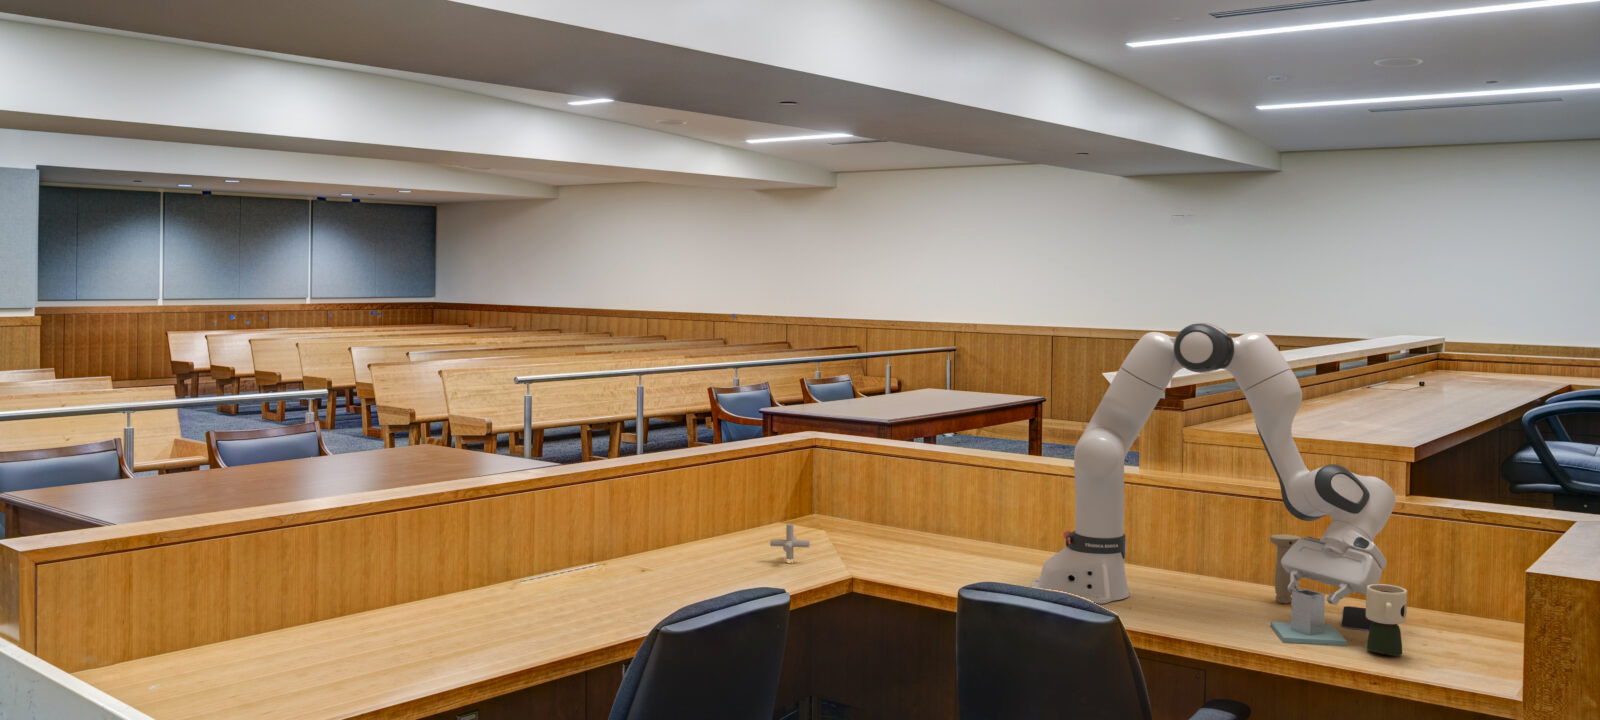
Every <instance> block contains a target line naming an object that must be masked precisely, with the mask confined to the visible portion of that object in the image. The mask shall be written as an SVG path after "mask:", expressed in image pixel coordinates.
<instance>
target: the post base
mask: <svg viewBox="0 0 1600 720" xmlns="http://www.w3.org/2000/svg"><path fill="white" fill-rule="evenodd" d="M1270 627H1271V628H1272V630H1273V631H1274V633H1276V635H1277V636H1278V637H1279V639H1280V640H1281V642H1282V643H1285V644H1287V643H1288V644H1308V645H1321V646H1322V645H1324V646H1325V645H1326V644H1328V645H1326V646H1340V645H1341V647H1342V646H1343V647H1344V646H1345V647H1347V640H1346V638H1344V636H1342V634H1341V633H1340V632H1339V631H1338V630H1337V629H1336V628H1335V627H1334V626H1333V625H1332V624H1330V623H1329V624H1327V623H1324V632H1323V633H1319V634H1314V635H1307V634H1304V633H1301V632H1298V631H1295V630H1292V629H1291V621H1290V622H1287V621H1286V622H1285V621H1270Z"/></svg>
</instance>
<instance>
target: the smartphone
mask: <svg viewBox="0 0 1600 720" xmlns="http://www.w3.org/2000/svg"><path fill="white" fill-rule="evenodd" d="M1341 614H1342V616H1341V624H1340V626H1341V628H1343V629H1347V628H1349V629H1350V630H1355V629H1356V631H1365V632H1369V630H1370V625H1371V623H1372V622H1374V621H1372V620H1369V619H1367V618H1366V607H1356V606H1349V605H1347V606H1346V605H1345V606H1343V608H1342V613H1341ZM1349 629H1348V630H1349Z"/></svg>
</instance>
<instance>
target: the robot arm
mask: <svg viewBox="0 0 1600 720" xmlns="http://www.w3.org/2000/svg"><path fill="white" fill-rule="evenodd" d="M1182 369H1186V370H1187V371H1191V372H1193V373H1198V374H1208V373H1212V372H1214V371H1215V372H1216V371H1218V370H1225V371H1227V372H1228V373H1229V374H1231V375H1232V377H1233V378H1234V380H1235V381H1236V382H1237V384H1238V386H1239V388H1240V390H1241V391H1242V394H1243V395H1244V398H1245V399H1246V401H1247V403H1248V405H1249V407H1250V410H1251V413H1252V414H1253V417H1254V420H1255V422H1254V423H1255V426H1256V429H1257V433H1258V435H1259V438H1260V440H1261V444H1263V447H1264V450H1265V452H1266V454H1267V457H1268V458H1269V461H1270V463H1271V465H1272V467H1273V470H1274V471H1275V474H1276V477H1277V479H1278V481H1279V487H1280V492H1281V499H1282V502H1283V504H1284V507H1285V508H1286V510H1287V511H1288V512H1289V513H1290V514H1291V515H1292V516H1294V517H1295V518H1297V519H1298V520H1301V521H1305V522H1313V521H1317V520H1319V519H1322V517H1325V516H1326V515H1328V516H1329V517H1331V520H1332V521H1331V523H1330V524H1329V525H1328V526H1327V528H1326V530H1325V531H1324V533H1323V534H1322V536H1321V537H1320V538H1315V537H1313V536H1305V537H1301V539H1298V540H1297V542H1296V543H1295V544H1294V545H1293V546H1292V547H1291V548H1290V549H1289V550H1288V551H1287V552H1286V554H1285V555H1284V556H1283V558H1282V559H1281V564H1282V566H1283V568H1284V569H1285V570H1286V572H1287V573H1289V574H1290V581H1291V582H1290V584H1289V585H1288V587H1287V589H1288V590H1289V592H1292V591H1296V590H1301V587H1300V586H1299V581H1302V579H1303V578H1304V579H1308V580H1312V581H1315V582H1319V583H1323V584H1325V585H1330V586H1333V587H1336V588H1339V589H1338V590H1336V591H1334V593H1333V592H1329V594H1328V596H1326V601H1327V602H1328V604H1330V605H1333V606H1337V605H1338V603H1340V601H1341V600H1343V599H1344V598H1346V597H1348V596H1349V595H1351V594H1352V592H1355V593H1359V594H1362V595H1366V592H1367V586H1368V585H1371V584H1379V582H1380V579H1381V578H1382V574H1383V572H1382V570H1384V569H1385V567H1386V566H1387V565H1388V561H1387V559H1386V557H1385V556H1384V554H1383V552H1381V550H1380V549H1379V547H1378V546H1377V545H1376V544H1375V543H1374V540H1375V538H1376V536H1377V535H1378V534H1379V533H1380V532H1381V531H1382V530H1383V529H1384V527H1385V526H1386V524H1387V522H1388V520H1389V518H1390V516H1391V515H1392V513H1393V510H1394V508H1395V505H1396V494H1395V492H1394V490H1393V489H1392V487H1391V486H1390V485H1389V484H1388V483H1386V482H1385V481H1384V480H1383V479H1381V478H1379V477H1377V476H1373V475H1361V474H1356V473H1354V472H1352V471H1350V470H1349V469H1348V468H1347V467H1344V466H1342V465H1339V464H1335V463H1334V464H1332V463H1331V464H1326V465H1323V466H1320V467H1318V468H1316V469H1313V470H1311V471H1310V470H1309V469H1308V468H1307V466H1306V464H1305V462H1304V460H1303V457H1302V456H1301V454H1300V451H1299V449H1298V446H1297V445H1296V442H1295V440H1294V438H1293V433H1292V427H1293V422H1294V421H1295V420H1294V419H1295V417H1296V415H1297V413H1298V411H1299V410H1300V408H1301V406H1302V402H1303V391H1302V388H1301V385H1300V383H1299V380H1298V379H1297V377H1296V375H1295V373H1294V372H1293V370H1292V368H1291V366H1290V365H1289V363H1288V361H1287V360H1286V358H1285V357H1284V355H1283V353H1281V351H1280V350H1279V349H1278V348H1277V346H1276V344H1274V343H1273V341H1272V340H1271V339H1270V338H1269V337H1268V336H1267V335H1266V334H1264V333H1261V332H1259V331H1258V332H1257V331H1256V332H1255V331H1254V332H1253V331H1252V332H1247V333H1244V334H1241V335H1240V336H1237V337H1232V336H1230V335H1229V334H1228V332H1226V331H1225V329H1222V328H1221V327H1219V326H1218V325H1215V324H1213V323H1209V322H1201V323H1193V324H1189V325H1187V326H1185V327H1184V328H1182V329H1181V330H1179V332H1178V334H1177V335H1176V336H1170V335H1167V334H1166V333H1163V332H1158V331H1150V332H1147V333H1145V334H1144V335H1142V337H1141V338H1139V339H1138V341H1137V342H1136V343H1135V344H1134V346H1133V347H1132V349H1131V350H1130V351H1129V353H1128V354H1127V355H1126V357H1125V359H1124V361H1123V362H1122V364H1121V366H1119V369H1118V371H1117V372H1116V374H1115V376H1114V377H1113V379H1112V381H1111V383H1110V385H1109V386H1108V388H1107V390H1106V391H1105V393H1104V395H1103V397H1102V399H1101V401H1100V403H1099V404H1098V406H1097V408H1096V410H1095V412H1094V413H1093V415H1092V416H1091V419H1090V421H1089V423H1088V424H1087V426H1086V427H1085V428H1084V429H1085V430H1083V433H1082V435H1081V436H1080V437H1079V439H1078V440H1077V443H1076V444H1075V447H1074V451H1073V452H1074V453H1073V457H1074V459H1073V460H1074V461H1073V462H1074V463H1073V466H1074V469H1073V471H1074V494H1075V503H1074V507H1075V509H1074V512H1075V513H1074V514H1075V515H1074V530H1073V531H1071V530H1070V529H1065V530H1064V531H1063V534H1062V535H1063V538H1064V539H1065V547H1064V548H1062V549H1061V550H1060V551H1058V552H1056V553H1055V554H1054V555H1052V556H1051V557H1049V558H1047V559H1046V561H1044V563H1043V565H1042V568H1041V572H1040V576H1039V578H1037V579H1034V580H1033V581H1032V582H1031V583H1030V588H1031V587H1036V588H1043V589H1051V590H1058V591H1063V592H1067V593H1071V594H1074V595H1078V596H1080V597H1084V598H1086V599H1089V600H1091V601H1093V602H1095V603H1094V604H1102V605H1104V604H1108V603H1110V602H1113V601H1119V600H1124V599H1127V598H1129V596H1130V595H1131V594H1130V591H1129V587H1128V582H1127V576H1126V569H1125V568H1126V567H1125V559H1126V554H1127V538H1126V533H1125V502H1126V501H1125V459H1126V456H1127V454H1128V453H1129V451H1130V450H1131V447H1133V444H1134V443H1135V441H1136V440H1137V438H1138V436H1139V434H1140V432H1141V431H1142V429H1143V428H1144V426H1145V424H1146V423H1147V422H1148V421H1149V418H1150V416H1152V415H1151V414H1152V413H1153V411H1154V409H1155V408H1156V406H1157V404H1158V402H1159V401H1160V399H1161V397H1162V396H1163V394H1164V392H1165V391H1166V389H1167V387H1168V385H1169V383H1170V382H1171V380H1172V378H1173V377H1174V376H1175V374H1176V373H1177V372H1178V371H1180V370H1182Z"/></svg>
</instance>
